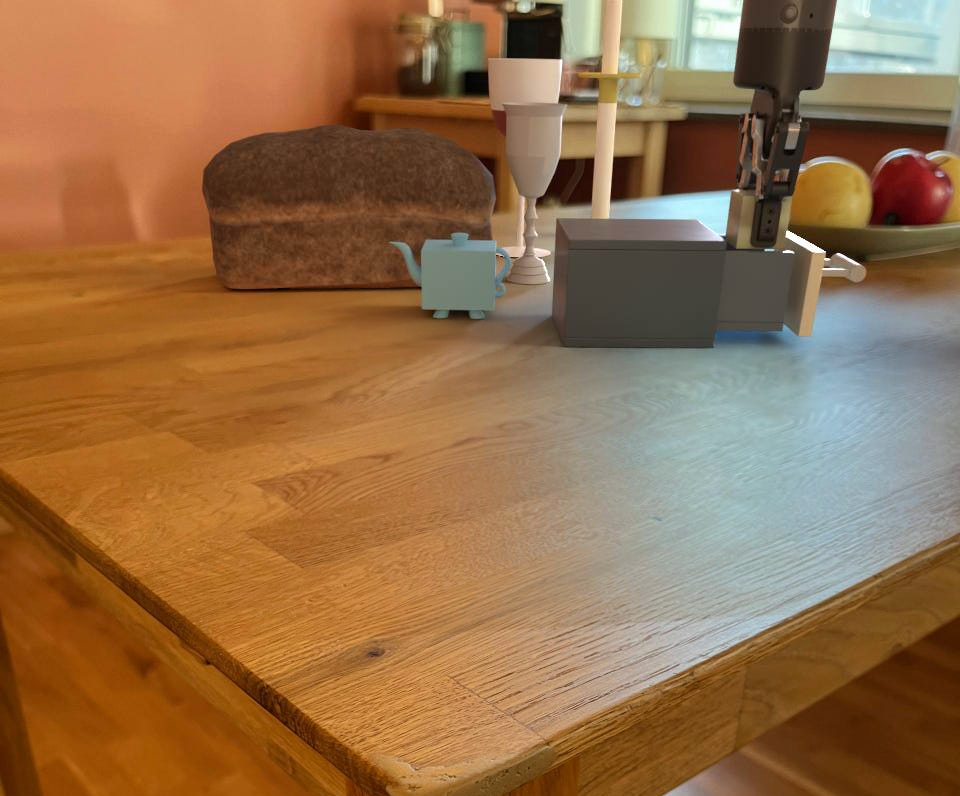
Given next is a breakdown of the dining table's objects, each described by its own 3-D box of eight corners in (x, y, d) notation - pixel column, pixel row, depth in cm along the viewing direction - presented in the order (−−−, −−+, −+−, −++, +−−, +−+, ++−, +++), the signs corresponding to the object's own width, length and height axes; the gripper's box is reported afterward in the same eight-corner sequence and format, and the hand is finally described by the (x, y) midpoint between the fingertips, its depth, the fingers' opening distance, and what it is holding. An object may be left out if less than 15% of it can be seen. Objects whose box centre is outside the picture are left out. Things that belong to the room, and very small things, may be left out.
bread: (501, 289, 112) (505, 130, 104) (206, 294, 109) (187, 128, 101) (483, 265, 125) (485, 120, 117) (218, 268, 121) (202, 119, 113)
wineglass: (563, 249, 135) (573, 59, 124) (536, 261, 128) (544, 59, 117) (503, 244, 138) (507, 58, 127) (473, 255, 131) (475, 58, 120)
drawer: (825, 309, 102) (839, 231, 98) (865, 337, 92) (882, 252, 88) (652, 307, 101) (660, 230, 98) (674, 336, 92) (683, 250, 88)
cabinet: (686, 316, 103) (696, 219, 98) (713, 348, 92) (727, 241, 87) (551, 314, 102) (556, 218, 98) (563, 347, 91) (569, 239, 87)
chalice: (485, 278, 118) (488, 103, 109) (528, 271, 122) (534, 101, 113) (528, 288, 113) (534, 106, 104) (571, 281, 117) (581, 105, 108)
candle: (555, 232, 148) (570, -82, 129) (621, 231, 150) (645, -80, 131) (573, 243, 139) (591, -91, 121) (643, 242, 141) (672, -88, 122)
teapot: (388, 318, 100) (385, 237, 96) (394, 304, 105) (391, 227, 101) (509, 320, 100) (511, 239, 96) (509, 306, 105) (511, 229, 101)
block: (771, 241, 95) (778, 190, 93) (784, 249, 91) (792, 196, 89) (724, 240, 95) (731, 189, 93) (736, 248, 91) (743, 195, 89)
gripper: (860, 23, 78) (819, 256, 87) (805, 26, 91) (774, 230, 99) (764, 21, 78) (732, 255, 87) (721, 25, 91) (698, 229, 99)
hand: (755, 241), depth 93 cm, fingers closed on block, 4 cm apart
